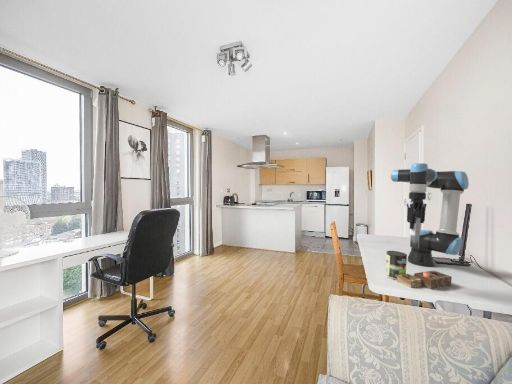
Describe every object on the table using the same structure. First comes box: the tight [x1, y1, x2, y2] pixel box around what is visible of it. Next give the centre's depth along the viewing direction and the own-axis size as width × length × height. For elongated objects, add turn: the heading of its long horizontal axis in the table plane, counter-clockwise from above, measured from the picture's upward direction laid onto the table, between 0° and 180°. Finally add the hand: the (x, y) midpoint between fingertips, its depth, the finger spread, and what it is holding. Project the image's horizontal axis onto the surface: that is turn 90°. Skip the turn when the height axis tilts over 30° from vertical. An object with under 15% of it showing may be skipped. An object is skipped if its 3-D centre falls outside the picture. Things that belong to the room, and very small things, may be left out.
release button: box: [422, 271, 430, 278], centre depth 123 cm, size 3×3×5 cm
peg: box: [409, 217, 421, 248], centre depth 124 cm, size 4×4×16 cm
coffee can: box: [385, 250, 408, 281], centre depth 134 cm, size 10×10×14 cm
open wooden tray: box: [396, 273, 422, 288], centre depth 125 cm, size 8×8×4 cm
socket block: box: [413, 270, 453, 290], centre depth 125 cm, size 16×9×5 cm, turn 109°
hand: (415, 234), depth 124 cm, fingers closed on peg, 4 cm apart
